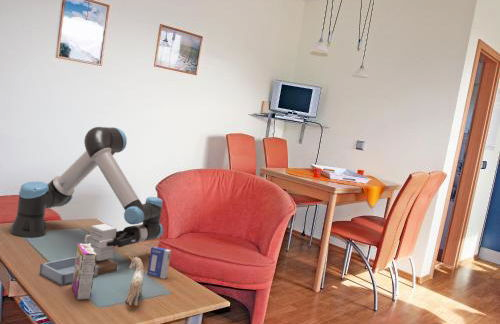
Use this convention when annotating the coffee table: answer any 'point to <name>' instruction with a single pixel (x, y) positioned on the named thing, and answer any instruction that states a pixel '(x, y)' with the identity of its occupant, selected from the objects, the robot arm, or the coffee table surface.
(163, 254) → the walkman
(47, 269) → the tray
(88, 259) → the candy bar box
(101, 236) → the supplement box
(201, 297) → the coffee table surface
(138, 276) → the unicorn figurine
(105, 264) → the walnut board
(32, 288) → the coffee table surface
